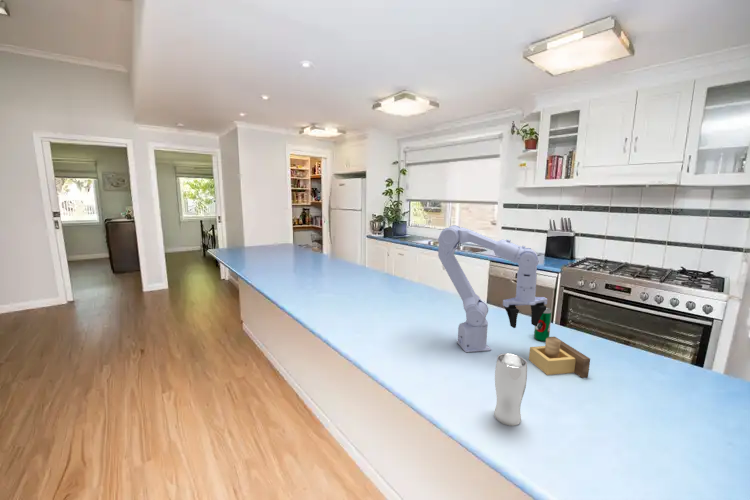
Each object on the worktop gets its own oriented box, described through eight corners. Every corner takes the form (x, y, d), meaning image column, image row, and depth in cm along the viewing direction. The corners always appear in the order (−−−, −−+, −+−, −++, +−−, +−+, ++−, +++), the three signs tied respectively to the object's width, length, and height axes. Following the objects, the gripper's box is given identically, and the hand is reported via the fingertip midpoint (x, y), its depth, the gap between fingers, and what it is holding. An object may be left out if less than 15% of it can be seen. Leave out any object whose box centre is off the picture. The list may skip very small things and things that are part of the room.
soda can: (550, 342, 118) (553, 311, 116) (535, 341, 119) (538, 310, 117) (546, 336, 123) (549, 306, 121) (532, 335, 124) (534, 305, 122)
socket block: (547, 374, 97) (548, 361, 96) (528, 359, 106) (530, 347, 105) (574, 372, 98) (575, 358, 97) (553, 357, 107) (555, 345, 106)
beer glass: (487, 408, 82) (491, 353, 79) (513, 407, 82) (518, 352, 80) (500, 428, 75) (504, 368, 72) (528, 426, 75) (534, 367, 73)
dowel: (549, 368, 99) (551, 343, 98) (540, 361, 103) (543, 338, 102) (561, 367, 100) (563, 342, 99) (552, 360, 104) (554, 337, 103)
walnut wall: (581, 378, 95) (584, 359, 94) (547, 353, 110) (549, 336, 109) (587, 377, 95) (590, 358, 94) (553, 353, 110) (554, 336, 109)
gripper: (512, 291, 100) (510, 332, 102) (555, 288, 102) (551, 329, 104) (500, 284, 107) (498, 323, 109) (540, 282, 109) (537, 320, 111)
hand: (523, 325), depth 107 cm, fingers open, 7 cm apart
